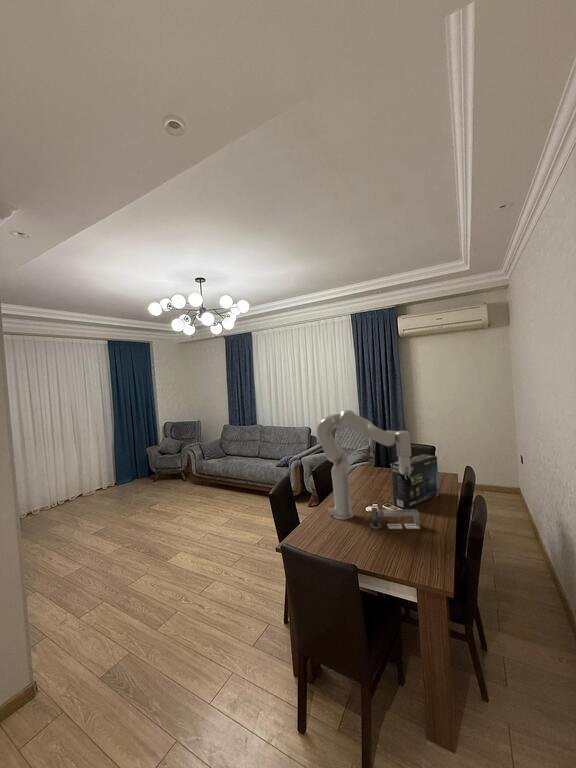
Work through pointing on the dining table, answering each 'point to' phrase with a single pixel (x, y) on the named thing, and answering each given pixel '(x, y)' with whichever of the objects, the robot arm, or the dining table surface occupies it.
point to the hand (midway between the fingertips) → (406, 483)
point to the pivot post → (375, 519)
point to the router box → (416, 482)
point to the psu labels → (398, 526)
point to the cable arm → (401, 513)
